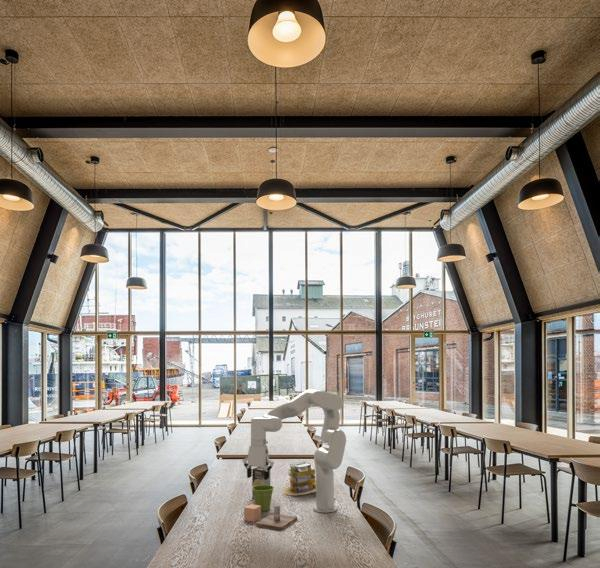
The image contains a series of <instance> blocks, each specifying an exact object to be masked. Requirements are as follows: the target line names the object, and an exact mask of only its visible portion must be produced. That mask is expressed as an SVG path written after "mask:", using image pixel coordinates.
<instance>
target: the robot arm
mask: <svg viewBox="0 0 600 568" xmlns="http://www.w3.org/2000/svg"><path fill="white" fill-rule="evenodd" d="M312 406H313V407H318V408H321V409H322V410H323V415H324V419H323V424H322V425H323V426H322V429H321V432H320V433H321V434H320V441H321V443H323V444H324V445H326V446H328V447H325V446H321V447H318V448H317V449H316V450H315V452H314V454H313V462H314V469H315V476H316V477H315V480H316V491H315V500H316V502H315V505H313V507H312V508H313V511H315V512H317V513H323V514H325V513H327V514H331V513H334V512H336V511H337V510H338V506H337V505H336V504H335V501H336V500H337V498H336V497H335V485H334V484H335V477H334V476H335V475H334V474H335V473H334V470H337V469H339V468H340V467H341V465H342V463H343V459H344V455H345V454H344V453H345V449H346V445H347V444H346V443H347V436H346V434H345V432H344V431H343V430H342V429H339V428H340V421H341V415H340V411H339V410H341V409H342V408H343V406H344V401H343V398H342V396H340V395H339V394H335V393H333V392H332V393H331V392H327V391H324V390H320V389H314V388H309V389H306V390H304V391H303V392H301V393H300V394H298V395H297V396H295V397H294V398H292V399H291V400H290V401H287V402H284V403H283V404H281V405H279V406H276V407H274V408H272V409H270V410H269V411H268V412H266V413H265V414H264V415H262V416H255V417H252V418H251V420H250V445H249V447H248V452H247V457H245V458H243V459H242V463H243V466H244V467H245V469H246V477H247V479H249V478H251V477H252V469H253V468H252V467H254V468H257V467H263V468H264V469H265V472H264V480H267V479H268V478H269V470H270V471H271V469H273V465H274V464H275V462H274V461H273V460H271V459H270V455H269V454H270V452H269V447H268V445H267V444H269V441H268V440H267V432H269V433H277V432H279V431H280V430H281V429H282V427H283V422H282V420H285V419H288V418H294V417H295V418H296V417H298V416H299V415H301V414H302V413H304V412H306V411H307V410H308V409H309V408H311V407H312Z"/></svg>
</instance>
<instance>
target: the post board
mask: <svg viewBox="0 0 600 568" xmlns="http://www.w3.org/2000/svg"><path fill="white" fill-rule="evenodd" d="M297 521H298V516H294V515H293V516H292V515H288V514H281V505H279V504H274V505H273V512H272V513H270V514H269V515H267V516H266V517H264V518H261V519H259V520H258V521H256V523H255V525H256V526H255V527H258V528H263V529H270V530H275V531H276V530H277V531H281V532H282V531H283V530H285V529H286V528H288V527H289V526H291V525H292V524H294V523H296V522H297Z"/></svg>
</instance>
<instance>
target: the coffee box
mask: <svg viewBox="0 0 600 568" xmlns="http://www.w3.org/2000/svg"><path fill="white" fill-rule="evenodd" d="M264 472H265V469H264V468H263V467H254V468H252V476H251V477H252V479H251V481H252V482H251V484H252V486H251V490H252V491H251V492H252V493H251V495H252V496H251V498H253V499H255V498H254V493H253V489H252V487H254V486H257V485H271V469H270V470H269V478H268V479H267V480H264Z"/></svg>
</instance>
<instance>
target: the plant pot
mask: <svg viewBox="0 0 600 568" xmlns="http://www.w3.org/2000/svg"><path fill="white" fill-rule="evenodd" d="M252 489H253V493H254V498H253V499H254V503H255V504H254V505H260V506H261V512H267V511H269V510H270V508H271V503H272V502H271V501H272V497H273V496H272V495H273V492H274V489H275V486H273V485H272V484H270V485H257V486H254V487H252V486H251V490H252Z"/></svg>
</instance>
